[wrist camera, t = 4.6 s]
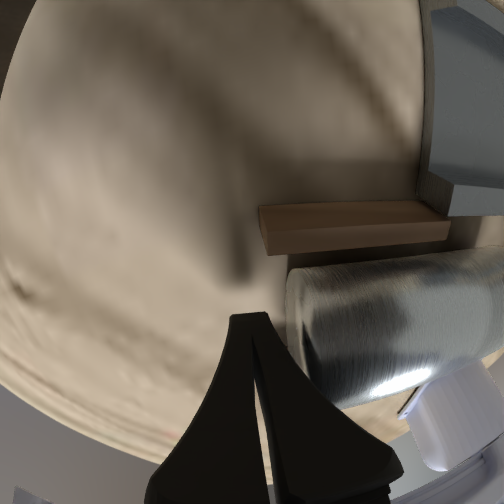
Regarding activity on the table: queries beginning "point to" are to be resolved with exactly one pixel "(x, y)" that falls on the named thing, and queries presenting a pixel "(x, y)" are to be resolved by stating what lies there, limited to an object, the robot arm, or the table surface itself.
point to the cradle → (463, 108)
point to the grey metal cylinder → (394, 321)
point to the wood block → (11, 30)
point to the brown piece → (348, 225)
